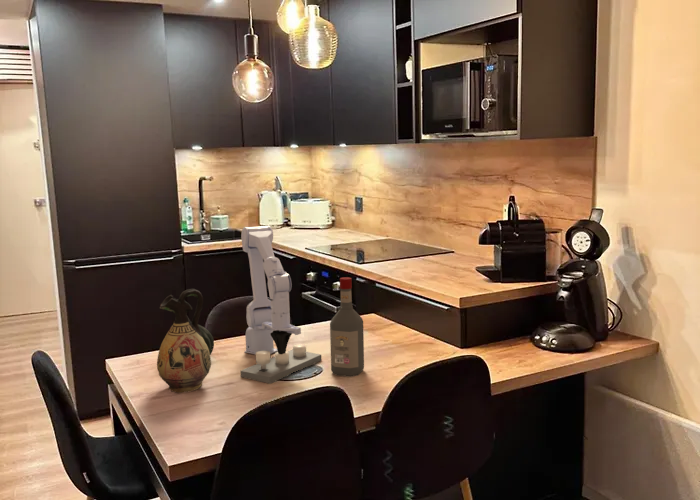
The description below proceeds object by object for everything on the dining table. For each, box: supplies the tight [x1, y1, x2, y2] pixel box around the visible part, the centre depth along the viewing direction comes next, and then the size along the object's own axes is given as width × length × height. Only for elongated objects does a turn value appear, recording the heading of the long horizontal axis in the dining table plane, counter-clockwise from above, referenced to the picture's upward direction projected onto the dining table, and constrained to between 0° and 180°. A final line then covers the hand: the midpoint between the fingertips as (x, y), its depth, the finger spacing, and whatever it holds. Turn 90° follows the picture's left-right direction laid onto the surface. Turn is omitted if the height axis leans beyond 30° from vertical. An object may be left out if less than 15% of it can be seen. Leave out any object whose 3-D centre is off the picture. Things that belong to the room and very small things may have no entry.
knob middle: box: [274, 351, 289, 364], centre depth 210 cm, size 4×4×5 cm
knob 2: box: [292, 343, 307, 357], centre depth 217 cm, size 4×4×5 cm
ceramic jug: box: [156, 288, 212, 394], centre depth 192 cm, size 17×15×30 cm
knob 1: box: [255, 351, 271, 369], centre depth 202 cm, size 4×4×5 cm
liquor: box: [329, 276, 365, 378], centre depth 203 cm, size 9×9×30 cm
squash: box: [198, 323, 215, 356], centre depth 218 cm, size 14×15×15 cm
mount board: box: [240, 348, 322, 385], centre depth 210 cm, size 12×26×2 cm, turn 146°
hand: (282, 353), depth 209 cm, fingers closed, pressing on knob middle
